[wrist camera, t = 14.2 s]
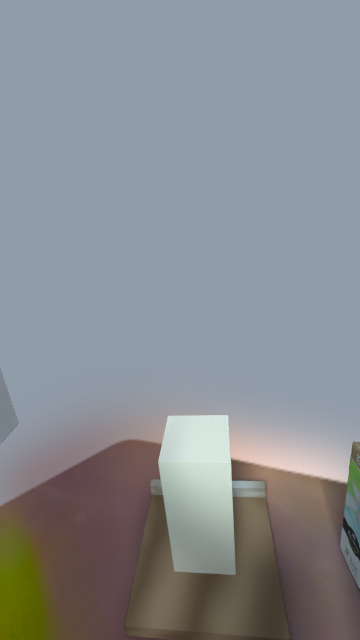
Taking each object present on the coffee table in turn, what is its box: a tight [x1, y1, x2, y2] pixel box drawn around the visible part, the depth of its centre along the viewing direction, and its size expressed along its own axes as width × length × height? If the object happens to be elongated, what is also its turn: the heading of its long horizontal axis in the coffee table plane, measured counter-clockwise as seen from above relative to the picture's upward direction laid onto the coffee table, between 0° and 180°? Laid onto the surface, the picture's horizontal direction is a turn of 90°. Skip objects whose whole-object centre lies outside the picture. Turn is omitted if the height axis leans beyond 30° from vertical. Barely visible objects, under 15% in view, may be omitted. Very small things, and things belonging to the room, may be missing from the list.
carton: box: [158, 415, 236, 575], centre depth 31 cm, size 6×6×14 cm
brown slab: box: [124, 479, 290, 640], centre depth 33 cm, size 14×14×3 cm
